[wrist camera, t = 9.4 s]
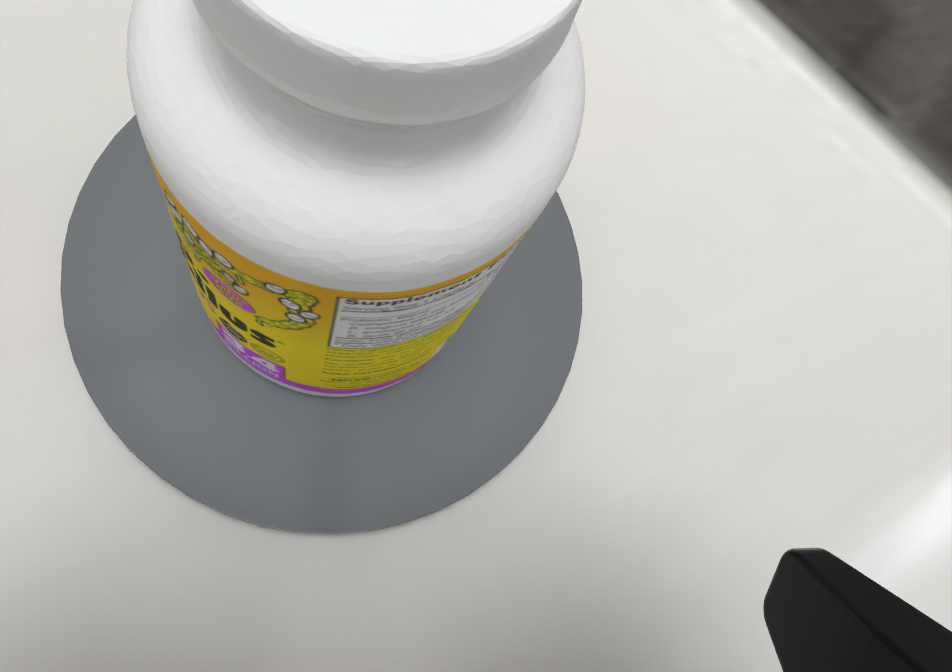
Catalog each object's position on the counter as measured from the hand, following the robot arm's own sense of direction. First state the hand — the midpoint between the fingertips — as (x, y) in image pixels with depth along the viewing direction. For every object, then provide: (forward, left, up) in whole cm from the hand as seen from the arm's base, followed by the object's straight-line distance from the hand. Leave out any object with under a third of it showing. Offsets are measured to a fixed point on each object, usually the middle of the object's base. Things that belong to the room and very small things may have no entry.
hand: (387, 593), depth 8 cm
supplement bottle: (+5, -5, -11) cm, 13 cm away
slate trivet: (+5, -5, -11) cm, 14 cm away
